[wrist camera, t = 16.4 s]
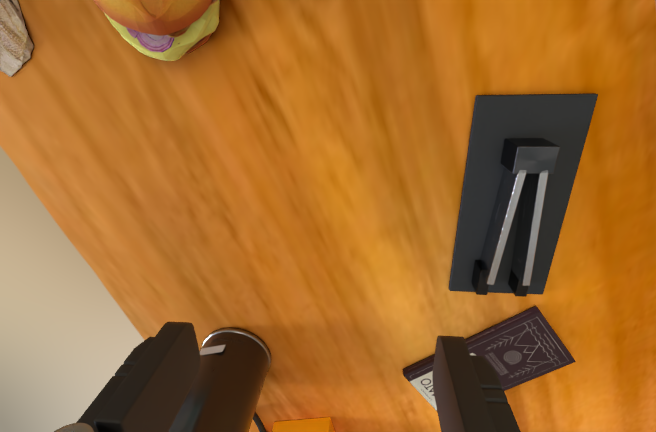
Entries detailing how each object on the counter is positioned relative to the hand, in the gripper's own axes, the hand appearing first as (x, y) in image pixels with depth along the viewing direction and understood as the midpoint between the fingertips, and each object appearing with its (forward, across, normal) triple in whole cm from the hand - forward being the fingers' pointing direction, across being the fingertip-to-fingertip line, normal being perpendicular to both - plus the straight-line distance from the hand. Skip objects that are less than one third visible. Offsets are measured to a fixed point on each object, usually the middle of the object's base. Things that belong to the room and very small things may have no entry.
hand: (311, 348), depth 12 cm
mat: (+26, -16, +6) cm, 31 cm away
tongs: (+25, -16, +7) cm, 31 cm away
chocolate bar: (+26, -17, +27) cm, 41 cm away
